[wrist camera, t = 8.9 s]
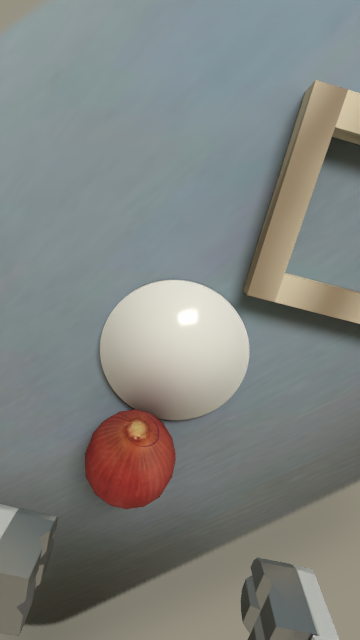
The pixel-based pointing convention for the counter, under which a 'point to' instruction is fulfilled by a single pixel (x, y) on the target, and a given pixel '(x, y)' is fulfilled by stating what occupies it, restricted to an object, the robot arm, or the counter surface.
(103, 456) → the onion
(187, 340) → the white domed disc
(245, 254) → the counter surface
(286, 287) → the frame
